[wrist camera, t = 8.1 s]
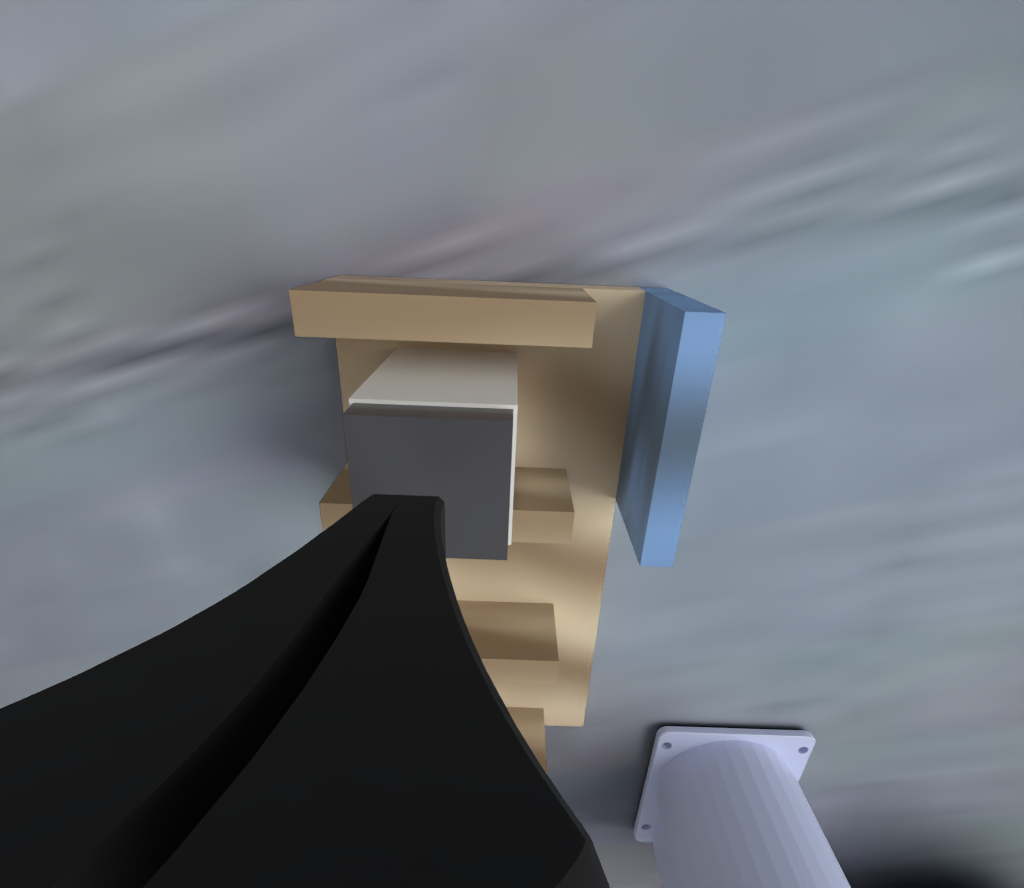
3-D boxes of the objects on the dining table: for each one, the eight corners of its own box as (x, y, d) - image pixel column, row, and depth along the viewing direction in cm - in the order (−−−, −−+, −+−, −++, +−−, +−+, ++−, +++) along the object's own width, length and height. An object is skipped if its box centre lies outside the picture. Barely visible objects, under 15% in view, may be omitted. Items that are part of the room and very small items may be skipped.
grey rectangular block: (512, 460, 18) (510, 563, 13) (403, 456, 18) (353, 557, 12) (517, 352, 16) (517, 417, 11) (396, 347, 16) (337, 410, 11)
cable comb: (600, 708, 25) (619, 817, 20) (382, 701, 25) (352, 809, 20) (668, 288, 16) (726, 313, 12) (339, 275, 16) (270, 295, 12)
